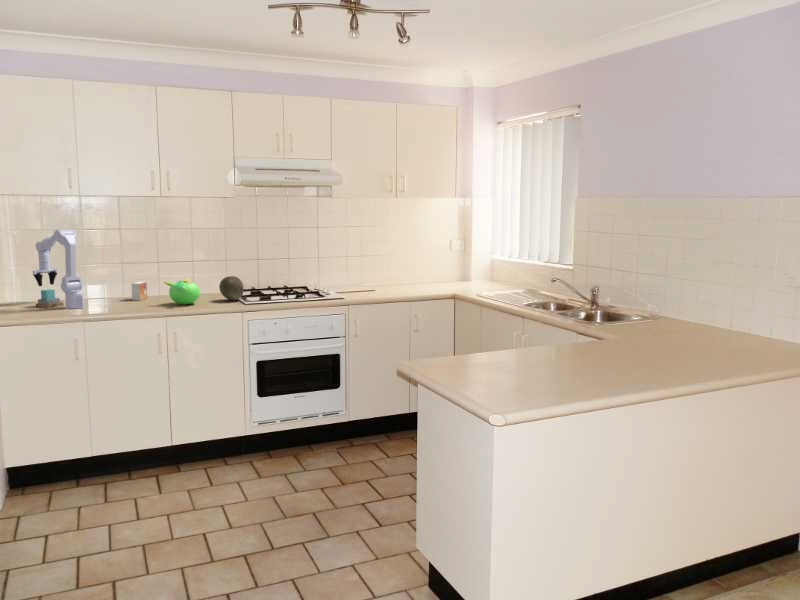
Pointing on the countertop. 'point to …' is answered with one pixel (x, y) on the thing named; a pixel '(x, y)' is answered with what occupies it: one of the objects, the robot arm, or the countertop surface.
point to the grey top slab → (48, 301)
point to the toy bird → (183, 292)
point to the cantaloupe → (231, 288)
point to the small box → (139, 291)
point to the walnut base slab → (49, 305)
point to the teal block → (48, 294)
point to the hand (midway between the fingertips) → (46, 285)
